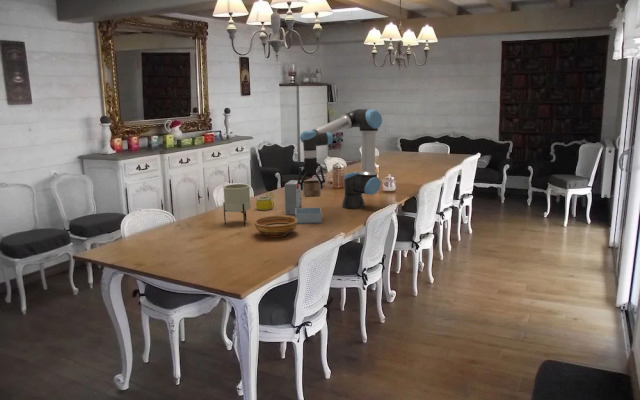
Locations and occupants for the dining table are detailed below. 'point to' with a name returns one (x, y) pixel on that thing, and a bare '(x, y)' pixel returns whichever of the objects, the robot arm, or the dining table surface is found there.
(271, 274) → the dining table surface
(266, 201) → the mug
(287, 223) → the tan woven oval bowl
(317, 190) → the walnut crate
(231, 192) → the planter
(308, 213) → the grey crate
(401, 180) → the dining table surface
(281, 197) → the dining table surface
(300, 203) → the hard drive box
